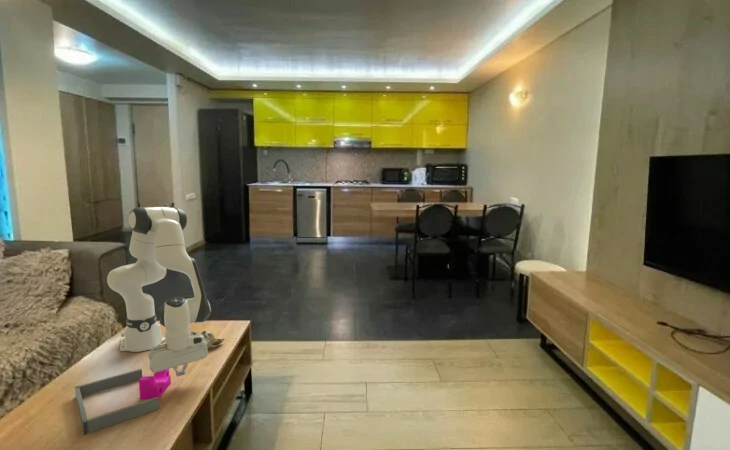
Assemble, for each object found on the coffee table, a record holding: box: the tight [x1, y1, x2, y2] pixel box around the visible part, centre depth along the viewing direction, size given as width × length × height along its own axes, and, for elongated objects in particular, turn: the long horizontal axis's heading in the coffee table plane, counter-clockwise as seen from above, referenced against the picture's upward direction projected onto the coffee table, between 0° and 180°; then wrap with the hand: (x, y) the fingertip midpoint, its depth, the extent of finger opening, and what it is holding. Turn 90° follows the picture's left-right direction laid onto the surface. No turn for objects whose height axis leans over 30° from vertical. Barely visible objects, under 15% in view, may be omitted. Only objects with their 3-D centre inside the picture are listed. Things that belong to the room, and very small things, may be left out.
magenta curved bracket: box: [138, 368, 172, 400], centre depth 152 cm, size 15×6×8 cm, turn 2°
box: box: [74, 368, 160, 435], centre depth 143 cm, size 26×21×4 cm
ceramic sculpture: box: [200, 330, 225, 349], centre depth 185 cm, size 11×9×15 cm
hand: (180, 375), depth 155 cm, fingers closed
